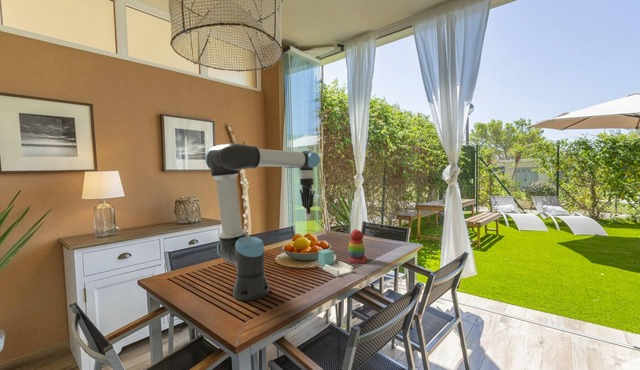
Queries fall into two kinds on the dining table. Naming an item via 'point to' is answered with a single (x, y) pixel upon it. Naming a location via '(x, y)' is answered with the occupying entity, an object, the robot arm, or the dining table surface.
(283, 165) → the robot arm
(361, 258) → the stacking bear
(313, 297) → the dining table surface
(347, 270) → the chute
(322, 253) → the block
